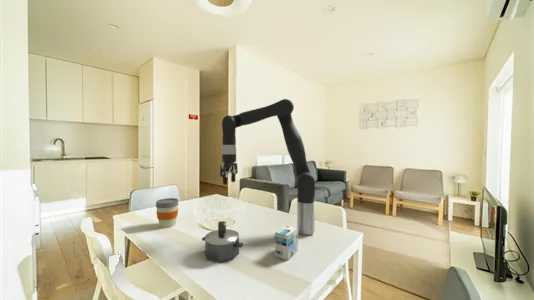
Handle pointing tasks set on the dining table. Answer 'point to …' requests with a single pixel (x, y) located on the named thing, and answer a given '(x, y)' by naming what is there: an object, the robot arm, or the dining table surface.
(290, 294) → the dining table surface
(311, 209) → the robot arm
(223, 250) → the pot
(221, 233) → the lid
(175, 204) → the reusable coffee cup
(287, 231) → the light bulb box
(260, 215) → the dining table surface
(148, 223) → the dining table surface
